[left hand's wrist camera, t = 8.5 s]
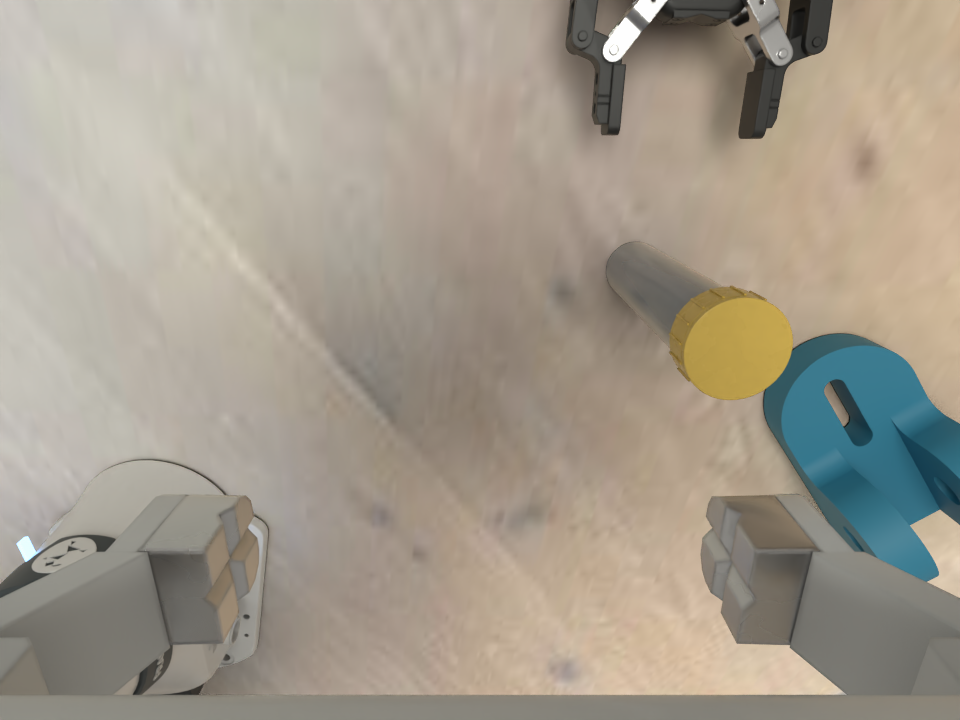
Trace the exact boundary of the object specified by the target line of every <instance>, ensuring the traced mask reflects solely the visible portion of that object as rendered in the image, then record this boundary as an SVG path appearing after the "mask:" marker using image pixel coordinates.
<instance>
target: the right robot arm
mask: <svg viewBox="0 0 960 720" xmlns="http://www.w3.org/2000/svg"><path fill="white" fill-rule="evenodd" d="M759 3H760V4H759ZM832 3H833V0H790V7H789V15H788V24H787V32H786V34H785V32H784V29H783V27H782V25H781V23H780V21H779V16H780V11H779V8H778V6H777V4H776V2H775V0H634V2H633V3H632V4H631V6H630V7H629V8H628V9H627V11H626V12H625V13H624V15H623V16H622V17H621V19H620V20H619V21H618V23H617V24H616V26H615V27H614V29H613V30H612V31H611V32H610V34H609V35H608V36H606V35H603V34H601V33H599V32H597V31H594V28H595V20H596V13H597V5H598V0H571V1H570V10H569V18H568V27H567V36H566V48H567V50H568V52H569V53H571V54H573V55H579V56H582V57H584V58H586V59H588V60H590V61H591V62H592V63H593V65H594V68H595V81H594V94H593V107H592V118H593V121H594V124H595V125H601V134H602V135H618V134H619V131H620V124H621V113H622V102H623V91H624V80H625V70H626V65H625V64H621V61H622V56H623V55H624V54H625V53H626V51H627V50H628V49H629V47H630V46H631V45H632V44H633V42H634V41H635V40H636V38H637V37H638V36H639V35H640V33H641V32H642V31H643V30H644V29H645V28H646V27H647V25H648V24H649V23H650V22H651V21H652V19H653V18H654V17H656V18H657V19H658V20H660V21H662V22H663V25H678V24H682V23H685V22H693V23H696V24H699V25H702V26H716V25H718V24H720V23H723V22H725V21H726V22H727V24H728V26H729V28H730V30H731V32H732V34H733V35H734V37H735V38H736V39H737V40H739V41H740V42H741V43H742V45H743V47H744V49H745V51H746V52H747V54H748V56H749V58H750V60H751V62H752V64H753V66H754V71H753V72H749V73H748V74H747V80H746V87H745V93H744V100H743V106H742V112H741V119H740V125H739V138H740V139H761V138H763V136H764V134H765V132H766V128H772V126H773V125H774V123H775V121H776V119H777V114H778V107H779V102H780V101H779V100H780V97H781V91H782V85H783V79H784V74H785V71H786V69H787V67H788V66H789V65H790V64H791V63H793V62H794V61H797V60H800V59H802V58H805V57H808V56H811V55H815V54H818V53H820V52H822V51H823V50H824V48H825V47H826V45H827V40H828V32H829V25H830V18H831V11H832ZM737 14H738V16H737Z"/></svg>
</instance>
